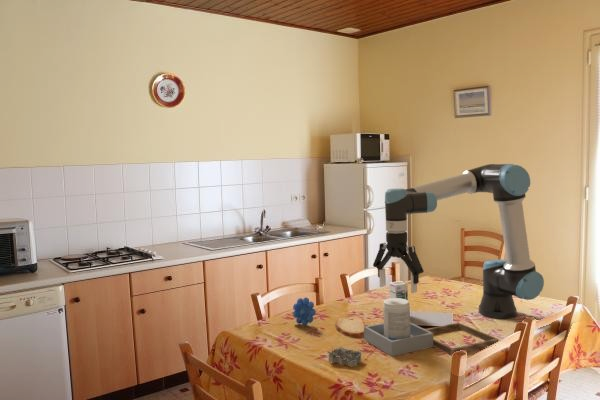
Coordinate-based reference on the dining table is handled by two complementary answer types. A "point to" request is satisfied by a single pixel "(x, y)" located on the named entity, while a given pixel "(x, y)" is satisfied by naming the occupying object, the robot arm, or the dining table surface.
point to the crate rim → (471, 347)
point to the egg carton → (345, 356)
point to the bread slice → (351, 326)
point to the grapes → (304, 311)
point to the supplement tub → (396, 318)
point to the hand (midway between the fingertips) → (398, 289)
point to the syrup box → (398, 290)
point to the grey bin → (413, 343)
